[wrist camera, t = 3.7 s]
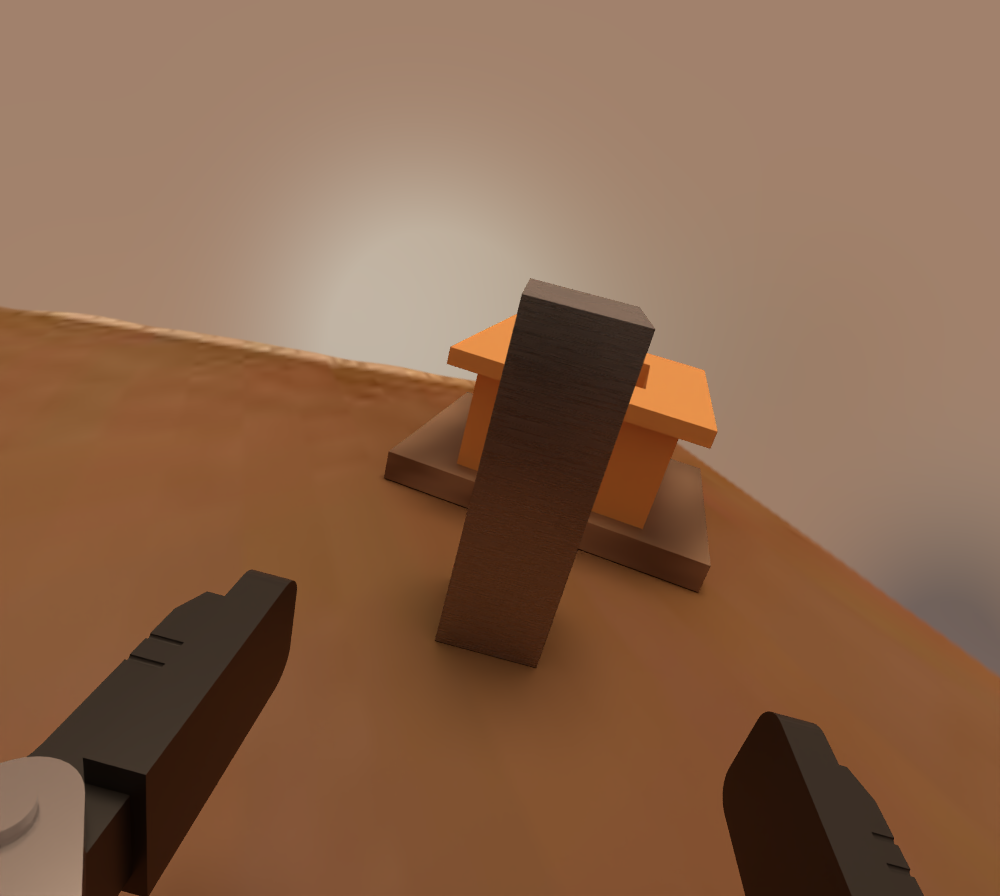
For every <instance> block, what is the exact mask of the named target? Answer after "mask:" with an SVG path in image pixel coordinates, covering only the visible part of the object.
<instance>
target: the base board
mask: <svg viewBox="0 0 1000 896" xmlns="http://www.w3.org/2000/svg"><path fill="white" fill-rule="evenodd" d="M472 396H473V394H472V393H469V392H467V393H466V394H464V395H463V396H462V397H460V398H459V399H458V400H456V401H455V402H454V403H452V404H451V405H450V406H448V407H447V408H446V409H444V410H443V411H442V412H440V413H439V414H438V415H436V416H435V417H434V418H432V419H431V420H430V421H428V422H427V423H426V424H424V425H423V426H422V427H420V428H419V429H418V430H416V431H415V432H414V433H412V434H411V435H410V436H409V437H407V438H406V439H405V440H403V441H402V442H401V443H399V444H398V445H397V446H395V447H394V448H393V449H391V450H390V451H389V453H388V459H387V464H386V470H385V476H384V478H386V479H389V480H392V481H395V482H397V483H400V484H403V485H406V486H408V487H411V488H414V489H417V490H419V491H422V492H425V493H428V494H430V495H433V496H436V497H438V498H441V499H444V500H447V501H449V502H452V503H455V504H458V505H460V506H463V507H466V508H468V507H469V503H470V499H471V495H472V491H473V487H474V483H475V479H476V475H477V471H476V470H473V469H470V468H468V467H465V466H462V465H459V464H457V461H458V456H459V452H460V448H461V444H462V439H463V435H464V431H465V426H466V422H467V418H468V414H469V409H470V405H471V401H472ZM578 549H581V550H584V551H586V552H589V553H592V554H595V555H597V556H600V557H603V558H605V559H608V560H611V561H614V562H616V563H619V564H622V565H625V566H627V567H630V568H633V569H636V570H638V571H641V572H644V573H647V574H649V575H652V576H655V577H657V578H660V579H663V580H666V581H668V582H671V583H674V584H677V585H679V586H682V587H685V588H688V589H690V590H693V591H696V592H699V590H700V588H701V585H702V583H703V581H704V579H705V577H706V575H707V573H708V571H709V568H710V566H711V565H710V555H709V546H708V536H707V527H706V518H705V508H704V499H703V490H702V480H701V471H700V468H697V467H694V466H691V465H688V464H685V463H682V462H679V461H676V460H673V459H670V462H669V464H668V467H667V469H666V472H665V474H664V477H663V479H662V482H661V484H660V487H659V489H658V492H657V494H656V497H655V499H654V502H653V504H652V507H651V509H650V512H649V514H648V517H647V519H646V522H645V524H644V527H643V529H641V528H638V527H635V526H632V525H629V524H626V523H624V522H621V521H618V520H615V519H612V518H609V517H607V516H604V515H601V514H598V513H595V512H592V511H591V514H590V516H589V519H588V522H587V525H586V528H585V531H584V534H583V536H582V539H581V542H580V545H579V548H578Z"/></svg>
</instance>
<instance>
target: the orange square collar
mask: <svg viewBox="0 0 1000 896" xmlns="http://www.w3.org/2000/svg"><path fill="white" fill-rule="evenodd" d="M516 316H517V314H516V315H514V316H512V317H510V318H508V319H506V320H504V321H502V322H500V323H498V324H496V325H494V326H492V327H489V328H487V329H485V330H484V331H482V332H479V333H477V334H475V335H473V336H471V337H469V338H468V339H465V340H463V341H461V342H459V343H457V344H455V345H453V346H451V347H450V351H449V356H448V361H447V364H450V365H452V366H455V367H459V368H462V369H465V370H468V371H471V372H474V373H477V374H478V375H477V379H476V384H475V388H474V392H473V396H472V401H471V405H470V409H469V414H468V418H467V422H466V426H465V431H464V435H463V439H462V444H461V448H460V452H459V456H458V461H457V464H459V465H462V466H465V467H468V468H470V469H473V470H476V471H478V468H479V464H480V460H481V456H482V452H483V448H484V444H485V440H486V436H487V432H488V428H489V424H490V420H491V416H492V412H493V408H494V404H495V400H496V396H497V392H498V388H499V384H500V380H501V376H502V372H503V368H504V364H505V360H506V356H507V352H508V348H509V344H510V340H511V336H512V332H513V328H514V324H515V320H516ZM716 434H717V426H716V422H715V417H714V413H713V408H712V403H711V399H710V394H709V390H708V385H707V380H706V376H705V371H704V370H701V369H698V368H695V367H691V366H688V365H685V364H681V363H678V362H675V361H672V360H668V359H665V358H662V357H658V356H655V355H651V354H648V353H647V354H646V357H645V360H644V363H643V366H642V368H641V371H640V374H639V377H638V380H637V383H636V386H635V388H634V391H633V394H632V397H631V400H630V403H629V405H628V408H627V411H626V414H625V417H624V420H623V423H622V425H621V428H620V431H619V434H618V437H617V440H616V442H615V445H614V448H613V451H612V454H611V457H610V460H609V462H608V465H607V468H606V471H605V474H604V477H603V479H602V482H601V485H600V488H599V491H598V494H597V497H596V499H595V502H594V505H593V508H592V512H595V513H598V514H601V515H604V516H607V517H609V518H612V519H615V520H618V521H621V522H624V523H626V524H629V525H632V526H635V527H638V528H641V529H643V527H644V524H645V522H646V519H647V517H648V514H649V512H650V509H651V507H652V504H653V502H654V499H655V497H656V494H657V492H658V489H659V487H660V484H661V482H662V479H663V477H664V474H665V472H666V469H667V467H668V464H669V462H670V459H671V457H672V454H673V452H674V449H675V446H676V444H677V441H678V439H682V440H685V441H688V442H691V443H694V444H697V445H700V446H703V447H707V448H711V446H712V443H713V441H714V439H715V436H716Z"/></svg>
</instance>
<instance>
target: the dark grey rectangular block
mask: <svg viewBox="0 0 1000 896" xmlns="http://www.w3.org/2000/svg"><path fill="white" fill-rule="evenodd" d="M654 331H655V328H654V327H653V325H652V324H651V322H650V321H649V320H648V318H647V317H646V316H645V314H644V313H643V311H642V310H641V309H640V307H637V306H633V305H629V304H625V303H622V302H618V301H614V300H610V299H606V298H603V297H599V296H595V295H591V294H588V293H584V292H580V291H576V290H573V289H569V288H565V287H561V286H557V285H554V284H550V283H546V282H542V281H538V280H534V279H531V278H530V280H529V282H528V284H527V285H526V287H525V289H524V291H523V293H522V297H521V300H520V304H519V308H518V312H517V316H516V320H515V324H514V328H513V332H512V336H511V340H510V344H509V348H508V352H507V356H506V360H505V364H504V368H503V372H502V376H501V380H500V384H499V388H498V392H497V396H496V400H495V404H494V408H493V412H492V416H491V420H490V424H489V428H488V432H487V436H486V440H485V444H484V448H483V452H482V456H481V460H480V464H479V468H478V471H477V475H476V479H475V483H474V487H473V491H472V495H471V499H470V503H469V507H468V511H467V515H466V519H465V523H464V527H463V531H462V535H461V539H460V543H459V547H458V551H457V555H456V559H455V563H454V567H453V571H452V575H451V579H450V583H449V587H448V591H447V595H446V599H445V603H444V607H443V611H442V615H441V619H440V623H439V627H438V631H437V635H436V639H435V641H438V642H442V643H446V644H450V645H453V646H457V647H461V648H465V649H468V650H472V651H476V652H479V653H483V654H487V655H491V656H494V657H498V658H502V659H505V660H509V661H513V662H517V663H520V664H524V665H528V666H532V667H535V668H536V667H537V664H538V662H539V659H540V656H541V653H542V650H543V647H544V645H545V642H546V639H547V636H548V633H549V630H550V627H551V625H552V622H553V619H554V616H555V613H556V610H557V608H558V605H559V602H560V599H561V596H562V593H563V590H564V588H565V585H566V582H567V579H568V576H569V573H570V571H571V568H572V565H573V562H574V559H575V556H576V553H577V551H578V548H579V545H580V542H581V539H582V536H583V534H584V531H585V528H586V525H587V522H588V519H589V516H590V514H591V511H592V508H593V505H594V502H595V499H596V497H597V494H598V491H599V488H600V485H601V482H602V479H603V477H604V474H605V471H606V468H607V465H608V462H609V460H610V457H611V454H612V451H613V448H614V445H615V442H616V440H617V437H618V434H619V431H620V428H621V425H622V423H623V420H624V417H625V414H626V411H627V408H628V405H629V403H630V400H631V397H632V394H633V391H634V388H635V386H636V383H637V380H638V377H639V374H640V371H641V368H642V366H643V363H644V360H645V357H646V354H647V351H648V348H649V346H650V343H651V340H652V337H653V334H654Z"/></svg>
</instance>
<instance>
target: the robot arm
mask: <svg viewBox="0 0 1000 896" xmlns="http://www.w3.org/2000/svg"><path fill="white" fill-rule="evenodd" d="M296 593H297V585H296V582H295V581H293V580H289V579H286V578H282V577H278V576H274V575H271V574H267V573H263V572H260V571H256V570H249V571H248V572H246V573H245V574H244V575H243V576H242V577H241V578H240V580H239V581H238V582H237V583H236V584H235V585H234V586H233V588H232V589H231V590H230V591H229V592H228V593H227V594H226V595H225V596H222V595H218V594H214V593H211V592H205V593H203V594H202V595H200V596H198V597H196V598H194V599H192V600H190V601H188V602H186V603H185V604H183V605H181V606H179V607H177V608H175V609H174V610H173V611H172V612H171V613H170V614H169V615H168V616H167V617H166V618H165V619H164V620H163V621H162V622H161V623H160V624H159V625H158V626H157V627H156V628H155V629H154V630H153V631H152V632H151V634H150V637H149V638H148V639H147V638H145V639H144V640H143V641H142V642H141V643H140V645H139V646H138V647H137V648H136V649H135V650H134V651H133V652H132V653H131V654H130V657H129V658H128V660H124V661H123V662H122V663H121V664H120V665H119V666H118V667H117V668H116V669H115V670H114V671H113V672H112V673H111V674H110V675H109V676H108V677H107V678H106V679H105V680H104V681H103V682H102V683H101V684H100V685H99V686H98V687H97V688H96V689H95V690H94V691H93V692H92V693H91V695H90V696H89V697H88V698H87V699H86V700H85V701H84V702H83V703H82V704H81V705H80V706H79V707H78V708H77V709H76V710H75V711H74V712H73V713H72V714H71V715H70V716H69V717H68V718H67V719H66V720H65V721H64V722H63V723H62V724H61V725H60V726H59V727H58V728H57V729H56V730H55V731H54V732H53V733H52V734H51V735H50V736H49V737H48V738H47V739H46V740H45V741H44V742H43V743H42V744H41V745H40V746H39V747H38V748H37V749H36V750H35V751H34V752H33V753H31V754H30V755H29V756H27V757H24V758H19V759H13V760H10V761H6V762H3V763H0V896H118V895H119V893H120V892H121V891H124V892H128V893H132V894H135V895H139V896H149V895H150V893H151V891H152V890H153V888H154V886H155V885H156V883H157V882H158V880H159V878H160V877H161V875H162V873H163V872H164V870H165V868H166V867H167V865H168V863H169V862H170V860H171V859H172V857H173V855H174V854H175V852H176V850H177V849H178V847H179V845H180V844H181V842H182V841H183V839H184V837H185V836H186V834H187V832H188V831H189V829H190V827H191V826H192V824H193V822H194V821H195V819H196V818H197V816H198V814H199V813H200V811H201V809H202V808H203V806H204V804H205V803H206V801H207V800H208V798H209V796H210V795H211V793H212V791H213V790H214V788H215V786H216V785H217V783H218V781H219V780H220V778H221V777H222V775H223V773H224V772H225V770H226V768H227V767H228V765H229V763H230V762H231V760H232V758H233V757H234V755H235V754H236V752H237V750H238V749H239V747H240V745H241V744H242V742H243V740H244V739H245V737H246V736H247V734H248V732H249V731H250V729H251V727H252V726H253V724H254V722H255V721H256V719H257V717H258V716H259V714H260V713H261V711H262V709H263V708H264V706H265V704H266V703H267V701H268V699H269V698H270V696H271V695H272V693H273V691H274V690H275V688H276V686H277V684H278V682H279V680H280V678H281V676H282V673H283V671H284V668H285V665H286V662H287V659H288V655H289V650H290V643H291V634H292V626H293V618H294V610H295V601H296ZM723 808H724V813H725V818H726V822H727V825H728V829H729V833H730V837H731V841H732V845H733V849H734V853H735V857H736V861H737V865H738V869H739V872H740V876H741V880H742V884H743V888H744V892H745V896H924V895H923V893H922V891H921V889H920V887H919V885H918V883H917V881H916V879H915V878H914V877H911V876H910V873H909V871H910V868H909V866H908V864H907V862H906V860H905V858H904V856H903V854H902V852H901V850H900V848H899V846H898V845H895V844H894V841H893V840H894V837H893V835H892V833H891V831H890V829H889V827H888V825H887V823H886V821H885V819H884V817H883V815H882V813H881V811H880V809H879V807H878V806H877V804H876V802H875V800H874V799H873V798H872V797H871V796H870V794H869V793H868V792H867V791H866V790H865V788H864V787H863V786H862V785H861V784H860V782H859V781H858V780H857V779H856V778H855V776H854V775H853V774H852V773H851V772H850V770H849V769H848V768H847V767H844V766H841V765H839V764H838V762H837V760H836V758H835V756H834V754H833V752H832V749H831V747H830V745H829V743H828V741H827V739H826V737H825V735H824V733H823V732H822V730H821V729H820V728H819V727H818V726H817V725H816V724H814V723H810V722H807V721H803V720H799V719H796V718H792V717H788V716H785V715H781V714H777V713H774V712H765V713H763V714H762V715H761V716H760V717H759V719H758V720H757V722H756V724H755V725H754V727H753V729H752V730H751V732H750V734H749V735H748V737H747V739H746V741H745V742H744V744H743V746H742V747H741V749H740V751H739V752H738V754H737V756H736V757H735V759H734V761H733V763H732V764H731V766H730V768H729V769H728V771H727V774H726V777H725V781H724V786H723Z"/></svg>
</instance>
